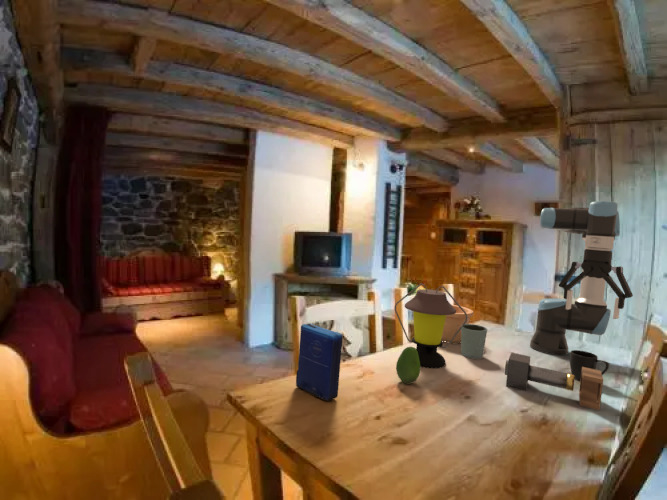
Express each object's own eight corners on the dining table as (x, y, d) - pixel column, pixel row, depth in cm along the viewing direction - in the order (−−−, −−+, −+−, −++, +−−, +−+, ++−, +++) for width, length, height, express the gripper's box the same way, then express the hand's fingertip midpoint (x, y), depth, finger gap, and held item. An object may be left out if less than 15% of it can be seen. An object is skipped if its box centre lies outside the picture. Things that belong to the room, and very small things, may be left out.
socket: (578, 394, 125) (582, 366, 125) (597, 399, 123) (600, 370, 122) (579, 405, 117) (583, 375, 117) (599, 410, 115) (603, 379, 114)
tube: (504, 376, 130) (505, 362, 130) (505, 372, 135) (507, 358, 134) (573, 393, 120) (574, 377, 120) (572, 388, 124) (574, 372, 124)
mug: (600, 389, 131) (603, 362, 130) (563, 376, 141) (566, 351, 140) (610, 385, 135) (614, 359, 134) (574, 373, 145) (577, 348, 144)
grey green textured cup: (486, 355, 160) (489, 327, 159) (481, 361, 151) (484, 332, 150) (462, 349, 165) (464, 322, 164) (455, 355, 157) (458, 327, 156)
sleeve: (508, 378, 136) (511, 352, 135) (527, 382, 133) (530, 356, 132) (505, 386, 128) (508, 359, 128) (525, 391, 125) (528, 363, 125)
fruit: (423, 383, 127) (426, 347, 126) (411, 389, 121) (414, 352, 120) (403, 375, 132) (406, 341, 131) (390, 381, 126) (393, 345, 125)
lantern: (468, 367, 144) (475, 288, 142) (439, 377, 132) (446, 292, 130) (415, 348, 163) (421, 278, 161) (385, 355, 151) (391, 280, 149)
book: (292, 388, 117) (296, 323, 115) (305, 383, 121) (309, 321, 119) (327, 405, 107) (332, 335, 106) (340, 399, 111) (344, 331, 110)
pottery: (472, 336, 187) (475, 307, 186) (468, 348, 167) (470, 316, 166) (427, 329, 196) (430, 301, 195) (418, 339, 176) (421, 309, 175)
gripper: (552, 245, 131) (546, 306, 133) (643, 253, 112) (634, 324, 114) (561, 245, 136) (554, 304, 138) (650, 253, 117) (641, 321, 118)
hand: (591, 313), depth 126 cm, fingers open, 13 cm apart
